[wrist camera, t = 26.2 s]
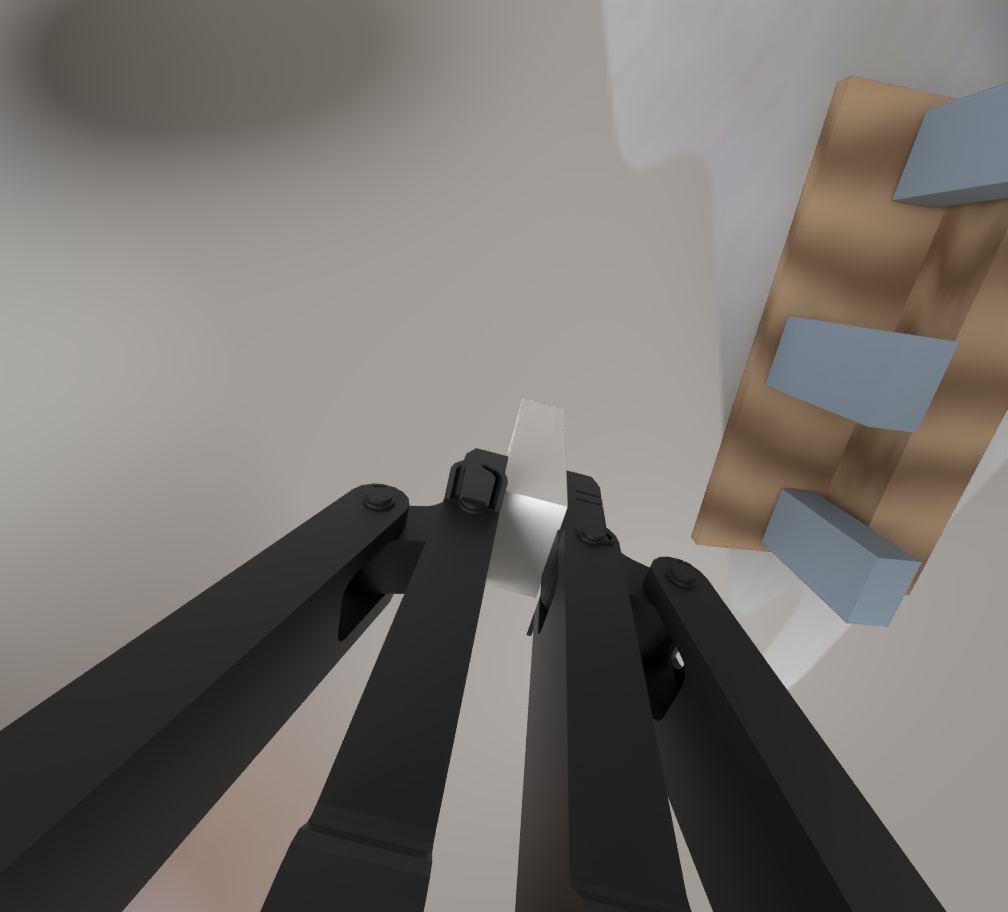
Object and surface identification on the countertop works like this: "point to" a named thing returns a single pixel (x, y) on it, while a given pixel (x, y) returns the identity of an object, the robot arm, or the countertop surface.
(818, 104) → the countertop surface
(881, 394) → the key middle
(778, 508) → the key
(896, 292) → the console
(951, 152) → the key
